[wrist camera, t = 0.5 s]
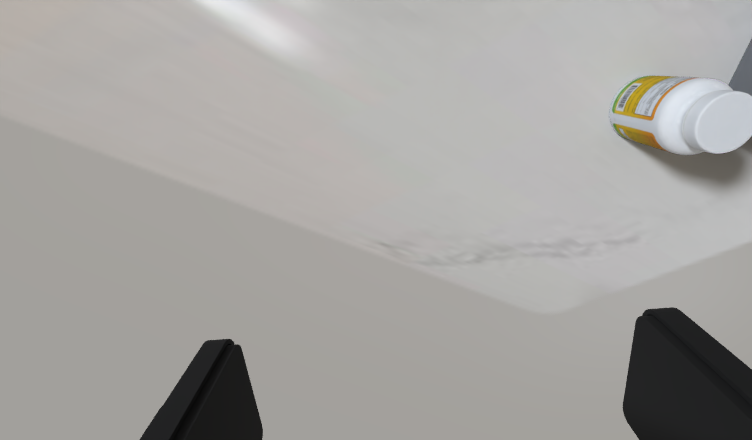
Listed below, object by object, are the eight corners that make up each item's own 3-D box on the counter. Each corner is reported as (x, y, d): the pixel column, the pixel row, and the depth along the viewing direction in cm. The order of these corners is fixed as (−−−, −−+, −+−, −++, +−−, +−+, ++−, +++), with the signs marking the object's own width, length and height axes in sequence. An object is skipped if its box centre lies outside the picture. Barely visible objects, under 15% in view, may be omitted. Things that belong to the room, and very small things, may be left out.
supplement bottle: (672, 130, 35) (770, 153, 26) (609, 146, 36) (684, 173, 27) (671, 67, 34) (777, 68, 25) (605, 85, 34) (684, 92, 25)
